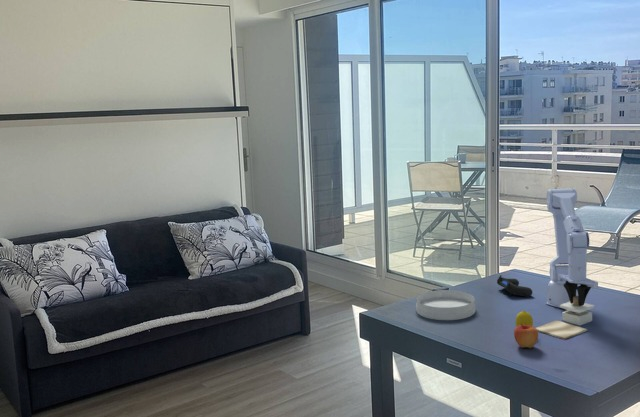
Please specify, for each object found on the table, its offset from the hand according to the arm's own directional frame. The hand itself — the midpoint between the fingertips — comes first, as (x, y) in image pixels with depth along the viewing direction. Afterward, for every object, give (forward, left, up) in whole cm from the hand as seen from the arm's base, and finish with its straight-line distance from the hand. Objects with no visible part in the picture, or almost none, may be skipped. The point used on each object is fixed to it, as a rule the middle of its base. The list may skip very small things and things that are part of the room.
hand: (577, 303), depth 224 cm
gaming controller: (-37, +11, -7) cm, 39 cm away
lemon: (-4, -23, -6) cm, 24 cm away
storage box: (0, 0, -6) cm, 6 cm away
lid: (0, 0, -1) cm, 1 cm away
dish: (-39, -25, -7) cm, 47 cm away
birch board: (+2, -12, -6) cm, 14 cm away
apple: (+4, -32, -6) cm, 33 cm away
